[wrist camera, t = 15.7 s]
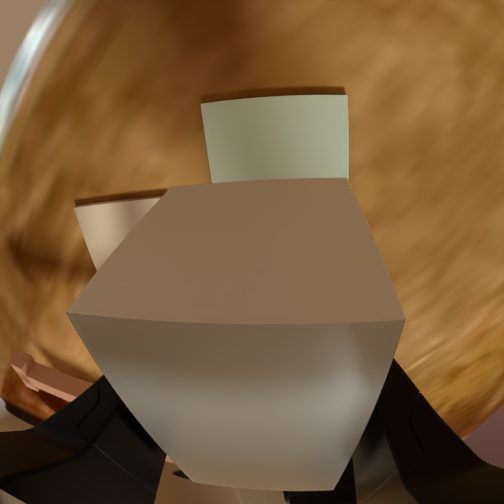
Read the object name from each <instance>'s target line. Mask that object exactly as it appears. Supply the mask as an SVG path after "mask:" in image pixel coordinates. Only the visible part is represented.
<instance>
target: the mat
mask: <svg viewBox="0 0 504 504" xmlns="http://www.w3.org/2000/svg"><path fill="white" fill-rule="evenodd" d="M201 111H202V118H203V125H204V132H205V139H206V146H207V153H208V160H209V166H210V173H211V180H212V183H221V182H235V181H252V180H271V179H297V178H347V180H348V181H349V125H348V95H287V96H269V97H255V98H244V99H234V100H225V101H216V102H209V103H202V104H201Z"/></svg>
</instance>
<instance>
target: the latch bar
mask: <svg viewBox="0 0 504 504" xmlns="http://www.w3.org/2000/svg"><path fill="white" fill-rule="evenodd" d="M11 365H12V367H13V368H14V370H15V371H16V372H17V374H18V375H19V376H20V378H21V379H22V381H23V382H24V383H25V384H26V386H27V387H29V388H31V389H33V390H35V391H37V392H38V391H39V389H41V390H44V391H46V392H48V393H50V394H53V395H55V396H57V397H60V398H62V399H65V400H67V401H70V402H71V401H73V400H74V399H75V398H77V397H78V396H79V395H80V394H82V393H83V392H84V391H85V390H86V389H88V388H89V387H90V386H91V385H92V384H93V383H90V382H87V381H84V380H81V379H78V378H76V377H73V376H70V375H67V374H64V373H62V372H59V371H56V370H54V369H51V368H49V367H46V366H44V365H41V364H39V363H36V362H35V361H34V360H33V358H32V356H31V355H29V354H27V353H25V352H22V351H19V352H18V353H17V355H16V356H15V358H14V359H13V361H12V362H11Z"/></svg>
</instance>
